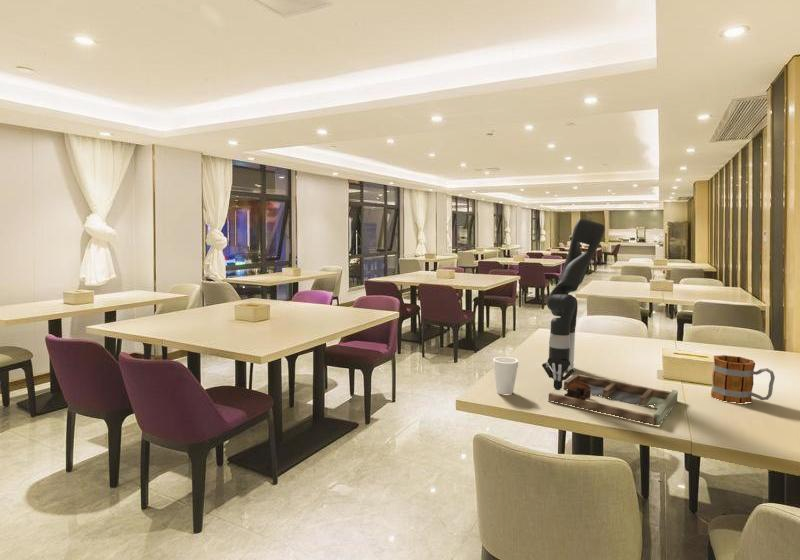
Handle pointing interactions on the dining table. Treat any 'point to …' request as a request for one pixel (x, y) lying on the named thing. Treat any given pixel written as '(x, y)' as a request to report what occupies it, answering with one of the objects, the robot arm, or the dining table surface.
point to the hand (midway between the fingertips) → (557, 389)
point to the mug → (736, 379)
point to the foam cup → (505, 374)
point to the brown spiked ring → (578, 390)
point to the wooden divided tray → (621, 398)
